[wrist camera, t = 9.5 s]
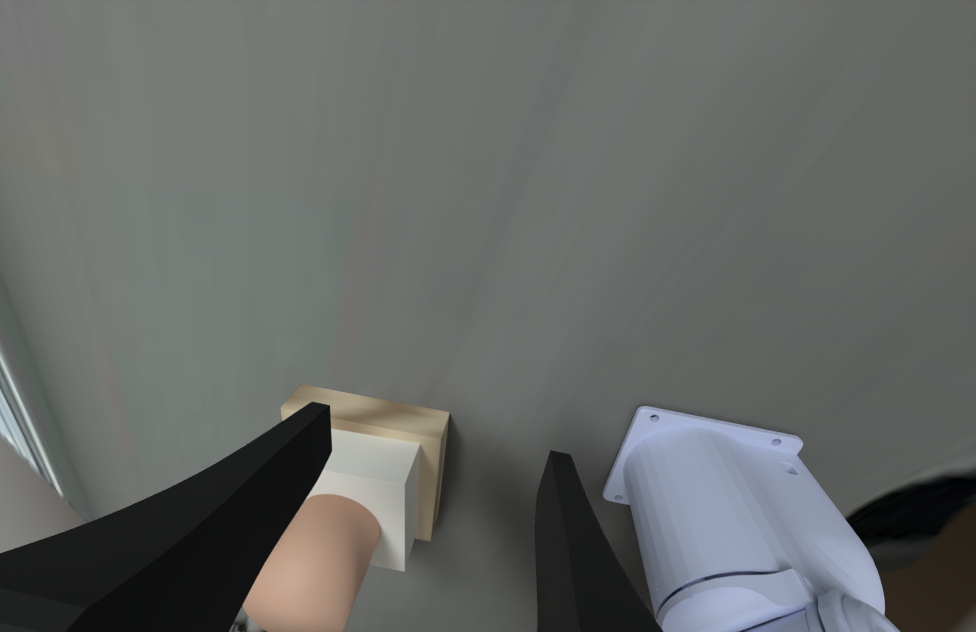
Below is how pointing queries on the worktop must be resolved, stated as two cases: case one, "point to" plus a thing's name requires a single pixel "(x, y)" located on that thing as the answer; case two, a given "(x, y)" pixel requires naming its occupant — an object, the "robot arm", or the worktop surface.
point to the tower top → (377, 488)
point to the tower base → (389, 436)
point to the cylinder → (315, 567)
